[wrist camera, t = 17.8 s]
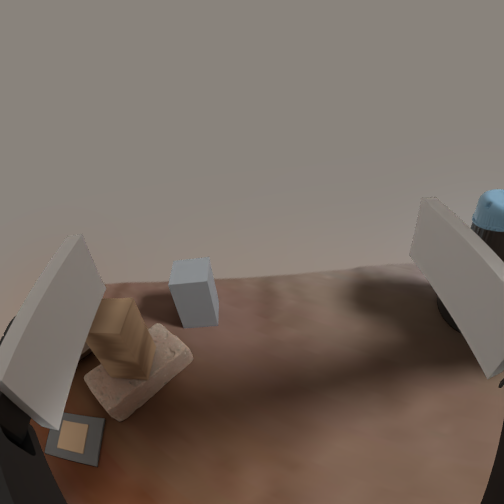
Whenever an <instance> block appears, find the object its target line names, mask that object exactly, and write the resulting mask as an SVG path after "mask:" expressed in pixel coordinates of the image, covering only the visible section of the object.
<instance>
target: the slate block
mask: <svg viewBox="0 0 504 504" xmlns="http://www.w3.org/2000/svg"><path fill="white" fill-rule="evenodd" d="M168 286H169V288H170V291H171V294H172V297H173V300H174V303H175V306H176V308H177V311H178V314H179V317H180V319H181V322H182V325H183V327H184V328H195V327H208V326H218V309H219V300H218V296H217V291H216V287H215V282H214V278H213V273H212V269H211V264H210V259H209V257H205V258H196V259H187V260H179V261H174V262H173V266H172V270H171V275H170V280H169V284H168Z"/></svg>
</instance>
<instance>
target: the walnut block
mask: <svg viewBox="0 0 504 504" xmlns="http://www.w3.org/2000/svg"><path fill="white" fill-rule="evenodd" d="M85 342H86V343H87V344H88V346H89V347H90V349H91V350H92V352H93V353H94V355H95V356H96V357H97V359H98V360H99V361H100V363H101V364H102V366H103V367H104V368H105V370H106V371H107V372H108V374H109V375H110V376H111V377H113V378H124V379H138V380H149V376H150V371H151V367H152V363H153V358H154V354H155V350H156V345H155V343H154V341H153V339H152V337H151V335H150V333H149V331H148V329H147V327H146V325H145V323H144V320H143V318H142V316H141V314H140V312H139V310H138V307H137V305H136V303H135V301H134V298H111V299H101V302H100V304H99V307H98V309H97V312H96V314H95V317H94V320H93V322H92V325H91V327H90V330H89V333H88V336H87V338H86V341H85Z"/></svg>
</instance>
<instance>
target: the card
mask: <svg viewBox="0 0 504 504" xmlns="http://www.w3.org/2000/svg"><path fill="white" fill-rule="evenodd" d="M104 425H105V419H104V418H96V417H88V416H82V415H75V414H69V413H64V412H63V416H62V420H61V424H60V428H59V430H54V429H50V431H49V435H48V439H47V443H46V448H45V453H46V454H49V455H52V456H56V457H59V458H63V459H66V460H70V461H74V462H78V463H82V464H87V465H91V466H96V467H98V462H99V455H100V448H101V442H102V436H103V431H104Z"/></svg>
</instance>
